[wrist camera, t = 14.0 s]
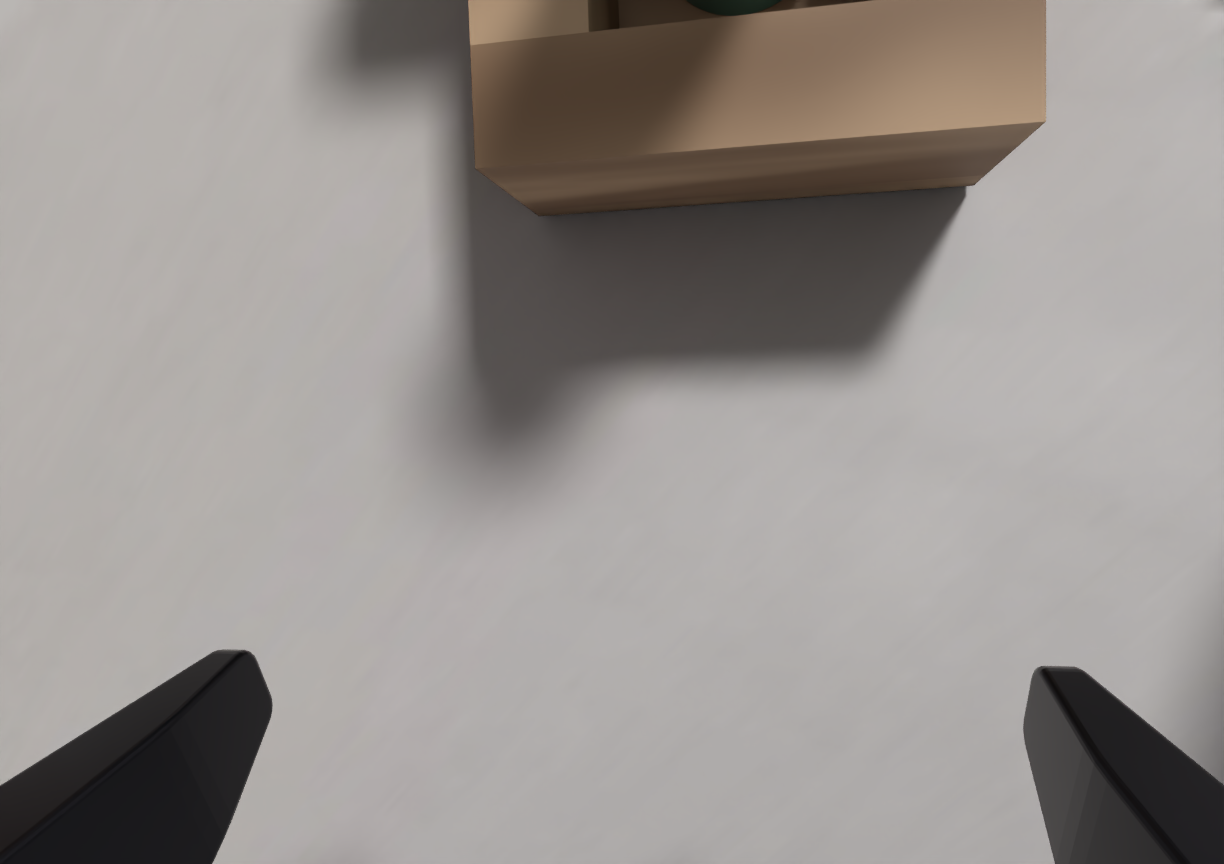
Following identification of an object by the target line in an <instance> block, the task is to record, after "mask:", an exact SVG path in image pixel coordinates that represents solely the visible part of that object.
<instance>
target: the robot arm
mask: <svg viewBox="0 0 1224 864" xmlns="http://www.w3.org/2000/svg"><path fill="white" fill-rule="evenodd" d="M271 714H272V698H271V694H270V692H269V690H268V687H267V685H266V682H265V680H264V677H263V675H262V672H261V670H260V667H259V665H258V662H257V660H256V658H255V656H254V655H253V654H252V653H251V652H249V651H246V650H217V651H214V652H212V653H211V654H209V655H207V656H206V657H204V658H203V659H201V660H199V661H198V662H196V663H195V664H193V665H192V666H190V667H188V668H187V669H185V670H184V671H182V672H180V673H179V674H177V675H176V676H174V677H172V678H171V679H169V680H168V681H166V682H164V683H163V684H161V685H160V686H158V687H156V688H155V689H153V690H152V691H150V692H149V693H147V694H145V695H144V696H142V697H141V698H139V699H137V700H136V701H134V702H133V703H131V704H129V705H128V706H126V707H125V708H123V709H121V710H120V711H118V712H117V713H115V714H113V715H112V716H110V717H109V718H107V719H106V720H104V721H102V722H101V723H99V724H98V725H96V726H94V727H93V728H91V729H90V730H88V731H86V732H85V733H83V734H82V735H80V736H78V737H77V738H75V739H74V740H72V741H70V742H69V743H67V744H66V745H64V746H63V747H61V748H59V749H58V750H56V751H55V752H53V753H51V754H50V755H48V756H47V757H45V758H43V759H42V760H40V761H39V762H37V763H35V764H34V765H32V766H31V767H29V768H28V769H26V770H24V771H23V772H21V773H20V774H18V775H16V776H15V777H13V778H12V779H10V780H8V781H7V782H5V783H4V784H2V785H0V864H212V863H213V861H214V859H215V857H216V855H217V852H218V850H219V848H220V846H221V844H222V842H223V840H224V837H225V835H226V832H227V830H228V828H229V825H230V823H231V820H232V818H233V816H234V813H235V810H236V808H237V805H238V802H239V800H240V797H241V795H242V792H243V789H244V787H245V784H246V781H247V779H248V776H249V774H250V771H251V768H252V766H253V763H254V760H255V758H256V755H257V753H258V750H259V747H260V745H261V742H262V739H263V737H264V734H265V732H266V729H267V726H268V724H269V721H270V718H271ZM1023 731H1024V740H1025V745H1026V750H1027V754H1028V758H1029V762H1030V766H1031V770H1032V774H1033V778H1034V782H1035V786H1036V790H1037V794H1038V798H1039V802H1040V806H1041V810H1042V813H1043V817H1044V821H1045V825H1046V829H1047V833H1048V837H1049V841H1050V845H1051V849H1052V853H1053V857H1054V861H1055V864H1224V785H1223V784H1222V783H1220V782H1219V781H1218V780H1217V779H1216V778H1214V777H1213V776H1212V775H1211V774H1209V773H1208V772H1207V771H1206V770H1205V769H1203V768H1202V767H1201V766H1200V765H1198V764H1197V763H1196V762H1195V761H1194V760H1192V759H1191V758H1190V757H1189V756H1187V755H1186V754H1185V753H1184V752H1183V751H1181V750H1180V749H1179V748H1178V747H1176V746H1175V745H1174V744H1173V743H1172V742H1170V741H1169V740H1168V739H1167V738H1166V737H1164V736H1163V735H1162V734H1161V733H1159V732H1158V731H1157V730H1156V729H1155V728H1153V727H1152V726H1151V725H1150V724H1148V723H1147V722H1146V721H1145V720H1144V719H1142V718H1141V717H1140V716H1139V715H1137V714H1136V713H1135V712H1134V711H1133V710H1131V709H1130V708H1129V707H1128V706H1126V705H1125V704H1124V703H1123V702H1122V701H1120V700H1119V699H1118V698H1117V697H1115V696H1114V695H1113V694H1112V693H1111V692H1109V691H1108V690H1107V689H1106V688H1104V687H1103V686H1102V685H1101V684H1100V683H1098V682H1097V681H1096V680H1095V679H1093V678H1092V677H1091V676H1090V675H1089V674H1087V673H1086V672H1085V671H1083V670H1081V669H1079V668H1077V667H1067V666H1041V667H1038V668H1037V669H1036V670H1035V671H1034V673H1033V675H1032V679H1031V685H1030V690H1029V695H1028V701H1027V706H1026V711H1025V717H1024V724H1023Z"/></svg>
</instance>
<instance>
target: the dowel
mask: <svg viewBox="0 0 1224 864" xmlns="http://www.w3.org/2000/svg"><path fill="white" fill-rule="evenodd" d="M686 1H688V2H689V3H691V4H692V5H694V6H696V7H697V8H699V9H702V10H704V11H706V12H710V13H714V14H718V15H726V16H737V15H746V14H752V13H755V12H759V11H762V10H764V9H767V8H769V7H771V6H773V5H775V4H777V3H778V2H780V1H782V0H686Z"/></svg>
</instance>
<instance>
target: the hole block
mask: <svg viewBox="0 0 1224 864" xmlns="http://www.w3.org/2000/svg"><path fill="white" fill-rule="evenodd" d="M468 8H469V32H470V56H471V79H472V103H473V127H474V151H475V169H476V170H478V171H479V172H480V173H482V174H483V175H484V176H486V177H487V178H488V179H490V180H491V181H492V182H494V183H495V184H497V185H498V186H499V187H501V188H502V189H503V190H505V191H506V192H507V193H509V194H510V195H511V196H513V197H514V198H515V199H517V200H518V201H519V202H521V203H522V204H523V205H525V206H526V207H527V208H529V209H530V210H531V211H533V212H534V213H535V214H537V215H538V216H548V215H562V214H576V213H590V212H604V211H619V210H633V209H647V208H661V207H675V206H689V205H703V204H718V203H732V202H746V201H760V200H774V199H788V198H803V197H817V196H831V195H845V194H859V193H873V192H887V191H902V190H916V189H930V188H944V187H958V186H972V185H975V184H976V183H977V182H978V181H979V180H980V179H981V178H982V177H984V176H985V175H986V174H987V173H988V172H989V171H990V170H992V169H993V168H994V167H995V166H996V165H997V164H998V163H999V162H1001V161H1002V160H1003V159H1004V158H1005V157H1006V156H1007V155H1008V154H1010V153H1011V152H1012V151H1013V150H1014V149H1015V148H1016V147H1018V146H1019V145H1020V144H1021V143H1022V142H1023V141H1024V140H1025V139H1027V138H1028V137H1029V136H1030V135H1031V134H1032V133H1033V132H1034V131H1036V130H1037V129H1038V128H1039V127H1040V126H1041V125H1042V124H1043V123H1045V122H1046V0H782V1H780V2H778V3H777V4H775V5H773V6H771V7H769V8H767V9H764V10H762V11H759V12H755V13H752V14H746V15H737V16H726V15H718V14H714V13H710V12H706V11H704V10H702V9H699V8H697V7H696V6H694V5H692V4H691V3H689V2H688V1H686V0H468Z"/></svg>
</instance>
